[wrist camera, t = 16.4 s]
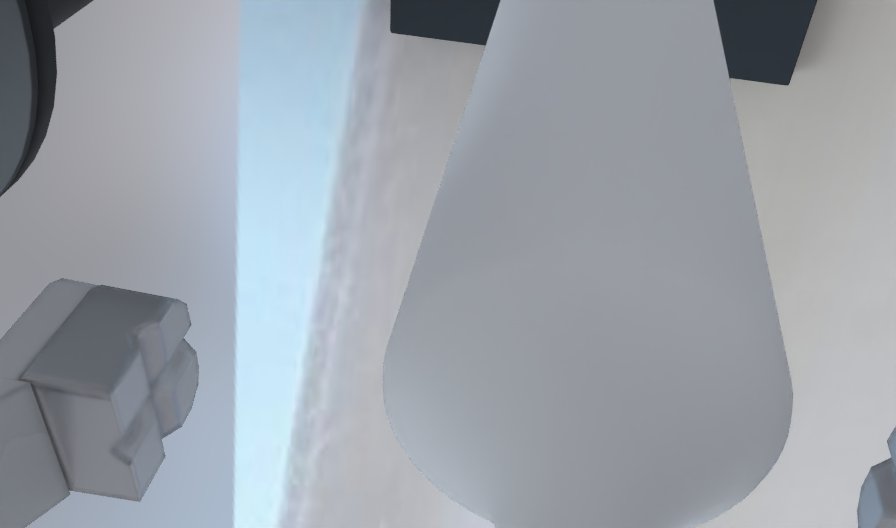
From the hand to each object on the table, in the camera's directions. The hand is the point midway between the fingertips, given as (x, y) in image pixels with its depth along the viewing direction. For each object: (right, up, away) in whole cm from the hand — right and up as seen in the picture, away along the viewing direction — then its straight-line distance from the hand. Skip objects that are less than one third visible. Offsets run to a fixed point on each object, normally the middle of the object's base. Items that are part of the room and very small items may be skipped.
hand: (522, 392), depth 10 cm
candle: (+4, +13, +17) cm, 22 cm away
